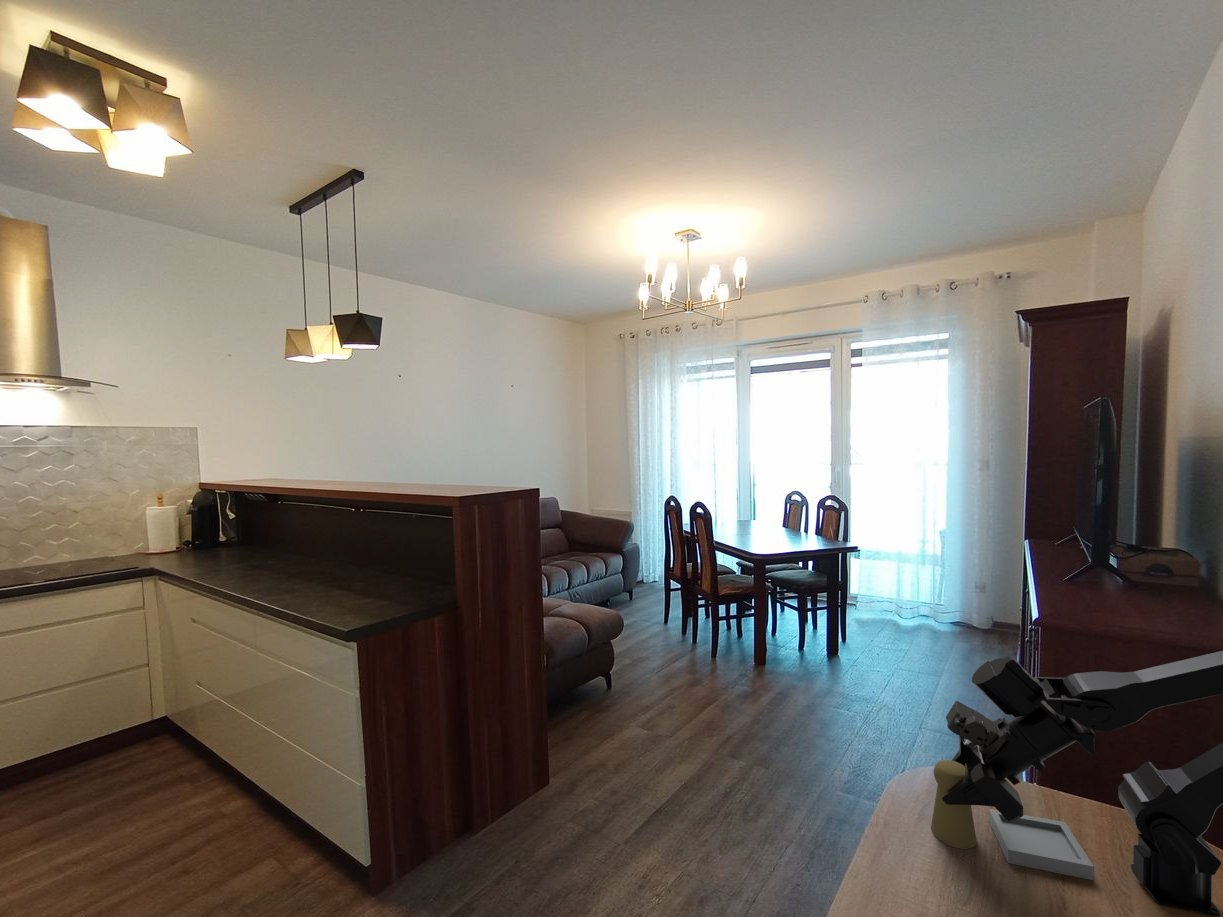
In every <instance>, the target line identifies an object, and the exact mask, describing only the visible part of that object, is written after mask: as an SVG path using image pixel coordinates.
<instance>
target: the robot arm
mask: <svg viewBox="0 0 1223 917" xmlns="http://www.w3.org/2000/svg"><path fill="white" fill-rule="evenodd" d="M971 683H973V684H974V685H975V686H976V688H978V690H980V691H981V692H982V693H983V694H984V695H985V696H986V697H987V698H988V699H989V700H990V701H991V702H992V703H993V704H994V705H995V706H996V707H997V708H999V709H1000V711H1001V712H1003V713H1004V714H1005V715H1008V716H1013V717H1014V718H1012V720H1010V721H1009V720H1007V719H1006V717H1003V718H1002V717H999V718H997V719H996V720H994V721H993V720H991V719H990V718H987V717H986V716H985V715H984V714H982V713H980V712H979V711H977V710H975V709H973V708H971V707H969V706H967V705H965V704H964V703H962V702H960V701H957V700H955V701H954V703H953V704H952V706H951V707H950V710H949V711H948V712H947V715H946V716H945V720H946V722H947V724H946V726H947V729H948V730H950V732H952V733H953V734H955V735H956V736H958V745H959V746H958V751H957V752H956V754H954V756H953V757H952V760H951V761H955V762H958V763H960V764H962V765H963V766H965V777H964V778H963V779H961V780H960V781H959V782H958V783H957V784H955V785H954V786H953V787H952V788H951V789H949V790H948V791H947V792H946V793H945V794H944V795H943V796H942V800H943V801H944V802H945V803H946V804H948V805H971V806H981V807H992V808H994V809H995V810H998V811H999V812H1000V813H1001V814H1002V815H1003V816H1004V817H1005V818H1006V819H1007V820H1008V821H1009V822H1013V821H1015V820H1017V819H1019V818H1021V817H1022V816H1023V815H1024V806H1023V802H1022V800H1021V797H1020V793H1019V792H1018V791H1017V789H1016V788H1015V787H1014V786H1016V785H1017V784H1020V783H1021V781H1020V778H1019V776H1020V774H1023V773H1024V772H1026V771H1028V770H1029V769H1030V768H1032V767H1035V769H1036V770H1037V771H1038V772H1041V771H1042V770H1044V769H1046V766H1045V764H1044V761H1045V760H1047V759H1049V758H1050V757H1052V756H1053V755H1055V754H1057V753H1059V752H1060V751H1062V750H1064V749H1065V748H1067V747H1069V746H1071V745H1073V744H1074V743H1076V742H1077V743H1078V744H1079V745H1080V746H1081V747H1082V748H1084V750H1085V751H1087V752H1088V753H1089V754H1091V755H1094V754H1096V748H1095V747H1096V746H1095V739H1096V733H1095V732H1097V733H1111V732H1114V731H1116V730H1120V729H1122V728H1125V727H1127V726H1130V725H1132V724H1135V723H1137V722H1139V721H1140V720H1141V719H1142V718H1144V717H1145V716H1146V715H1147V714H1149V713H1150V712H1153V711H1156V710H1157V709H1160V708H1164V707H1170V706H1174V705H1179V704H1183V703H1188V702H1194V701H1198V700H1202V699H1207V698H1212V697H1217V696H1221V695H1223V650H1219V651H1215V652H1212V653H1207V654H1202V655H1198V656H1194V657H1191V658H1190V657H1189V658H1186V659H1182V660H1178V661H1173V662H1169V663H1164V664H1160V665H1156V666H1152V667H1148V668H1144V669H1140V670H1139V669H1138V670H1134V671H1126V672H1119V671H1117V672H1116V671H1104V670H1099V671H1088V672H1087V671H1085V672H1076V673H1072V674H1069V675H1067V676H1065V677H1056V676H1055V677H1053V676H1052V677H1051V676H1032V675H1031V674H1030V673H1029V672H1028V671H1027V670H1026V669H1024V667H1023V666H1022V665H1021V664H1020V662H1019V661H1018V660H1017V659H1016V658H1015V657H1014V656H1013V655H1011V654H1008V655H1007V656H1005V657H1004V658H996V659H992V660H987V661H986V662H984V663H983V664H981V666H979V667H978V668H977V669H976V670H975V671H974V673H973V674H972V676H971ZM1121 776H1122V777H1123V779H1124V780H1123V781H1122V782H1121V783H1119V785H1118V788H1117V789H1118V798H1119V800H1120V803H1121V804H1122V807H1123V808H1124V809H1125V811H1126V812H1127V814H1128V816H1129V817H1130V819H1131V821H1132V822H1133V824H1134V826H1135V827H1136V829H1137V830H1138V831H1139V832H1140V833H1138V834H1137V844H1134V845H1133V849H1132V850H1133V851H1132V852H1133V854H1132V855H1133V856H1132V857H1133V862H1132V863H1133V864H1132V863H1131V864H1130V869H1131V870H1132V872H1133V874H1134V875H1135V877H1136V878H1137V879H1138V881H1139V882H1140V884H1141V885H1142V886H1143V887H1144V889H1145V890H1146V891H1147V892H1148V894H1149V896H1151V898H1152V899H1153V900H1154V902H1156V903H1157V904H1159V905H1162V906H1167V907H1171V908H1176V909H1181V910H1186V911H1191V912H1194V913H1199V914H1204V915H1210V916H1214V917H1221V911H1220V909H1219V908H1218V907H1217V906H1216V904H1215V903H1214V902H1213V901H1212V900H1213V899H1212V896H1213V894H1212V892H1213V891H1212V890H1213V876H1215V875H1216V873H1217V872H1218V870H1219V868H1220V867H1221V866H1222V861H1221V859H1219V857H1218V856H1217V855H1216V854H1215V852H1214V850H1212V848H1211V847H1210V845H1209V844H1208V843H1207V842H1206V840H1205V839H1204V837H1202V835H1204V833H1206V832H1207V831H1208V829H1209V827H1210V825H1211V822H1212V821H1213V819H1214V816H1215V813H1216V812H1217V810H1218V808H1220V807H1222V805H1223V742H1221V743H1220V744H1218V745H1216V746H1215V747H1213V748H1211V749H1209V750H1207V751H1206V752H1204V753H1203V754H1201V755H1199V756H1197V757H1196V758H1194V759H1191V760H1190V761H1188V762H1186V763H1185V764H1183V765H1182V766H1180V767H1177V768H1172V769H1157V767H1155V765H1154V764H1153V763H1152V762H1151V761H1146V762H1144V763H1142V764H1141V765H1140V766H1139V767H1137V769H1135V770H1134V771H1132V772H1128V773H1127V772H1126V773H1123V774H1122V775H1121ZM1007 780H1008V781H1007ZM1011 784H1012V785H1013V786H1012V785H1011Z"/></svg>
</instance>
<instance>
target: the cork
mask: <svg viewBox="0 0 1223 917" xmlns="http://www.w3.org/2000/svg"><path fill="white" fill-rule="evenodd" d="M933 777H934V780H935V782H936V784H937V787H936V792H935V798H934V804H933V805H934V807H933V812H932V819H931V824H930V830H931V832H932V834H933V835H934V836H935V838H936V839H938V840H939V841H940V842H943V843H944V844H945V845H948V846H950V847H953V848H957V849H960V850H966V849H967V850H968V849H973V848H974V847H975V846H976V845H977V842H978V840H977V834H976V829H975V828H976V827H975V822H974V816H973V810H972V805H948V804H946V803H945V802H944V801H943V800H942V796H943V795H944V794H945V793H946V792H947V791H948V790H949V789H951V788H952V787H953V786H954V785H955V784H957V783H958V782H959V781H960V780H961V779H963V778H964V777H965V766H963V765H962V764H960V763H958V762H955V761H952V760H951V759H942V760H939V761H937V762H936V763H935V765H934V767H933Z"/></svg>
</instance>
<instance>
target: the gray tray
mask: <svg viewBox="0 0 1223 917" xmlns="http://www.w3.org/2000/svg"><path fill="white" fill-rule="evenodd" d="M988 822H989V824H990V826H991V829H992V831H993V833H994V835H995V837H996V839H997V842H998V844H999V846H1000V848H1001V851H1002V853H1003V855H1004V858H1005V860H1006V861H1007V863H1008V864H1010V865H1011V864H1013V865H1016V866H1022V867H1026V868H1031V869H1036V870H1042V871H1046V872H1051V873H1055V874H1059V875H1066V876H1070V877H1076V878H1080V879H1084V880H1089V881H1090V880H1091V881H1094V880H1095V879H1094V878H1095V871H1094V870H1095V865H1093V863H1092V862H1091V859H1089V857H1088V855H1087V854H1086V852H1085V850H1084V849H1083V847H1082V846H1081V845H1080V843H1079V841H1078V840H1077V838H1076V836H1075V835H1074V834H1073V831H1071V829H1070V827H1069V826H1068V825H1067V823H1066V822H1065V821H1060V820H1055V819H1050V818H1043V817H1037V816H1032V815H1026V814H1023V816H1022V817H1021V818H1019V819H1017V820H1015V821H1013V822H1009V821H1008V820H1007V819H1006V818H1005V817H1004V816H1003V815H1002V814H1001V813H1000V812H999V811H998V810H997V809H994V808H993V809H992V808H988Z"/></svg>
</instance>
